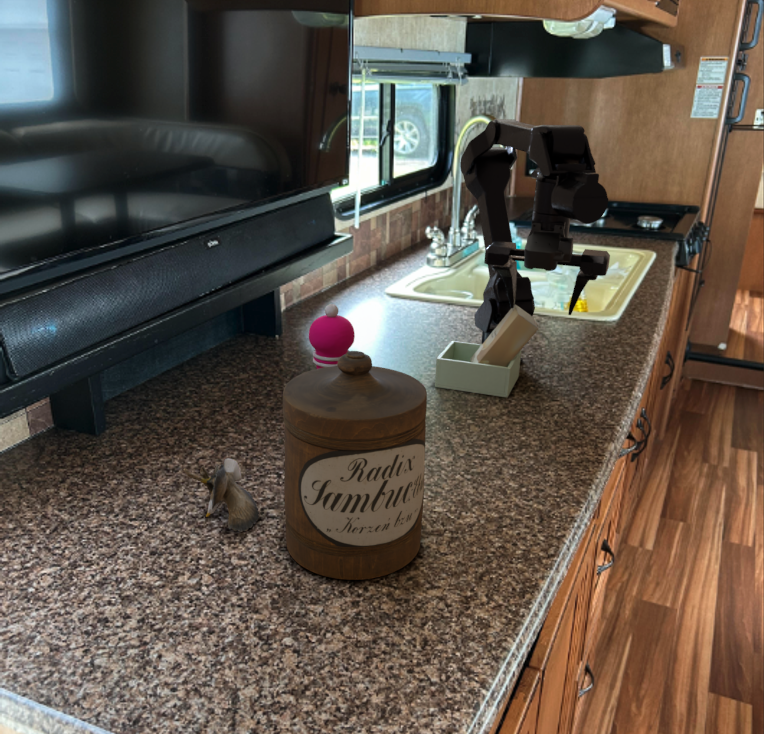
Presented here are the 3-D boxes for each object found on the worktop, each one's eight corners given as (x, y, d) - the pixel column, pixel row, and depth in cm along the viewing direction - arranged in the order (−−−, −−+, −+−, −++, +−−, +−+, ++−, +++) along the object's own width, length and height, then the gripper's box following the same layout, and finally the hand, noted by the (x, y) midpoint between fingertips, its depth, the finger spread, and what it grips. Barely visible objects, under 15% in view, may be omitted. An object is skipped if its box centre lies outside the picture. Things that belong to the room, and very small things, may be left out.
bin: (434, 386, 128) (436, 358, 126) (450, 367, 137) (452, 340, 135) (507, 397, 124) (510, 368, 122) (518, 376, 133) (521, 349, 131)
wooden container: (312, 595, 76) (309, 388, 67) (269, 521, 88) (262, 338, 79) (444, 563, 82) (458, 368, 73) (387, 497, 94) (392, 324, 85)
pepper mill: (365, 437, 109) (367, 300, 101) (346, 459, 103) (347, 314, 95) (318, 429, 111) (317, 294, 103) (297, 450, 105) (294, 308, 97)
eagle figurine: (169, 501, 90) (199, 522, 82) (192, 444, 90) (225, 460, 83) (224, 518, 94) (258, 539, 87) (246, 463, 95) (282, 480, 88)
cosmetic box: (469, 359, 132) (514, 302, 128) (489, 372, 133) (534, 317, 129) (471, 371, 126) (518, 312, 122) (492, 386, 127) (540, 328, 123)
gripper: (480, 215, 113) (472, 317, 120) (610, 225, 108) (595, 332, 114) (496, 204, 123) (488, 300, 129) (616, 214, 117) (602, 313, 124)
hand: (540, 311), depth 124 cm, fingers open, 9 cm apart
